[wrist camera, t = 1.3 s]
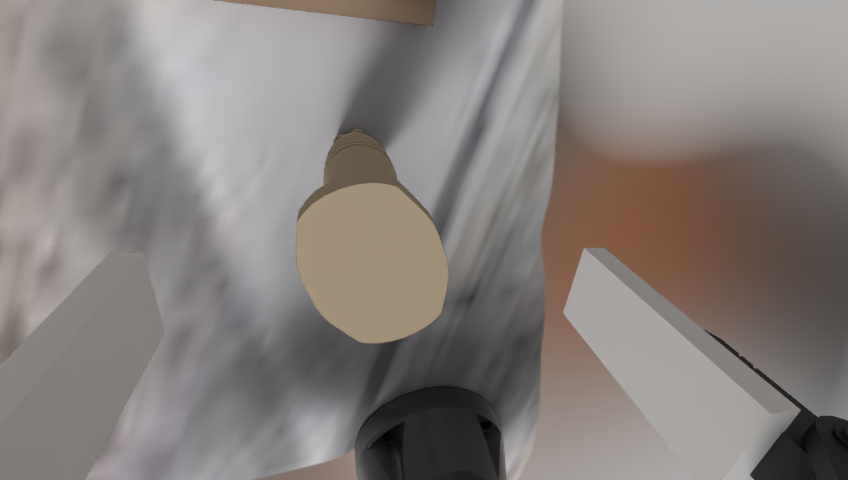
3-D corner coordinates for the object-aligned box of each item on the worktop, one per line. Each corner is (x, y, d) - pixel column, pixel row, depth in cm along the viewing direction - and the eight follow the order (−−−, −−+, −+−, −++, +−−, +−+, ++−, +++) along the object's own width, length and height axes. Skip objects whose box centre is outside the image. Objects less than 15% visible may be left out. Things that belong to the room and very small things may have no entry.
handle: (339, 205, 28) (345, 359, 15) (300, 117, 25) (263, 216, 12) (404, 182, 28) (464, 315, 15) (373, 91, 25) (416, 162, 12)
